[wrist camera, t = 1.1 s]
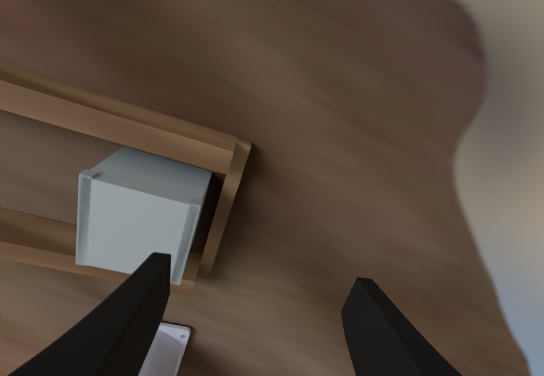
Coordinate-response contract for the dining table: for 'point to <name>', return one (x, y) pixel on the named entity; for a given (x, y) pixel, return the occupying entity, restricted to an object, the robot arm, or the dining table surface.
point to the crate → (138, 211)
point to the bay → (124, 130)
